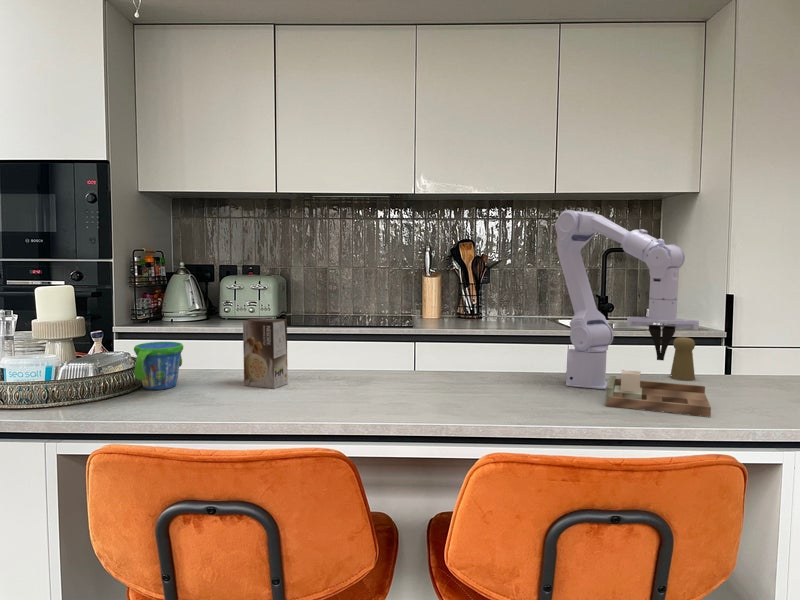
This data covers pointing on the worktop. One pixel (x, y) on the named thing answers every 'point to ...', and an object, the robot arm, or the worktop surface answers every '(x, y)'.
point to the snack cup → (158, 364)
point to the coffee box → (265, 352)
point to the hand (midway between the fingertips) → (660, 359)
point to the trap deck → (660, 397)
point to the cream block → (630, 381)
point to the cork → (683, 359)
